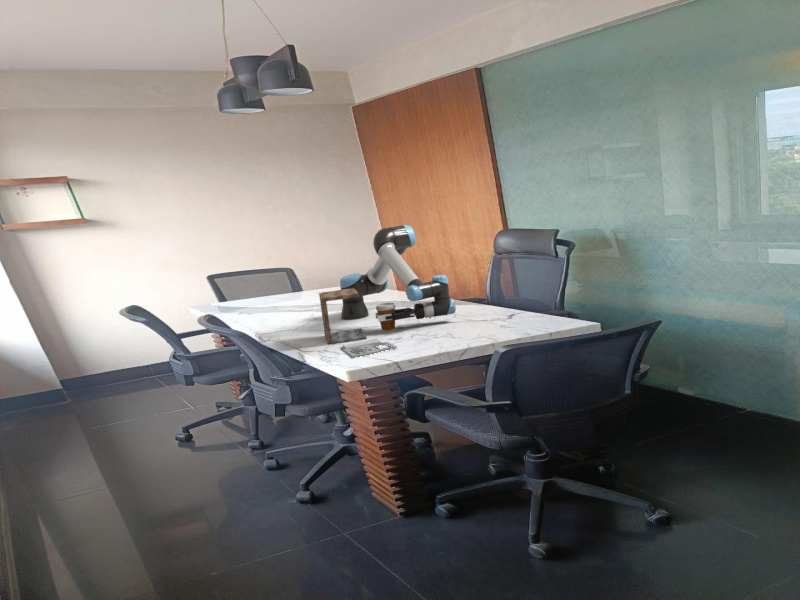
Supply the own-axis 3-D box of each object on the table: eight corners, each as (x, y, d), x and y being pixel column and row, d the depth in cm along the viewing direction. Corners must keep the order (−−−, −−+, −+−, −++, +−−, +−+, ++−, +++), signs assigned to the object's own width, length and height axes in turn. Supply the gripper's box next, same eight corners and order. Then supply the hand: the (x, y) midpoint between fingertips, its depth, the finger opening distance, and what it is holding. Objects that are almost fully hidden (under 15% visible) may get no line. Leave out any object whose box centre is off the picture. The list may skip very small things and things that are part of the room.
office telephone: (339, 344, 299) (381, 336, 305) (339, 350, 299) (382, 341, 305) (352, 353, 277) (398, 344, 283) (353, 359, 277) (399, 350, 283)
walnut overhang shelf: (361, 330, 333) (355, 287, 330) (366, 339, 312) (360, 293, 308) (325, 336, 331) (319, 292, 327) (327, 345, 309) (321, 298, 306)
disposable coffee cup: (383, 332, 318) (379, 307, 316) (375, 329, 327) (372, 305, 325) (401, 328, 322) (398, 304, 320) (393, 325, 330) (390, 301, 328)
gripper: (428, 321, 316) (381, 328, 313) (420, 314, 337) (375, 321, 333) (427, 306, 315) (379, 313, 312) (418, 299, 335) (373, 306, 332)
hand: (377, 317), depth 322 cm, fingers closed on disposable coffee cup, 8 cm apart
